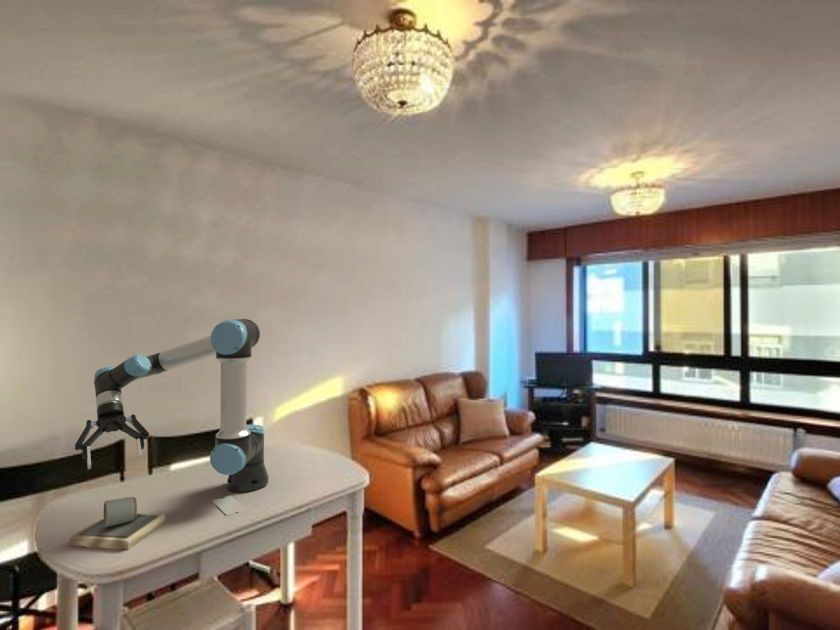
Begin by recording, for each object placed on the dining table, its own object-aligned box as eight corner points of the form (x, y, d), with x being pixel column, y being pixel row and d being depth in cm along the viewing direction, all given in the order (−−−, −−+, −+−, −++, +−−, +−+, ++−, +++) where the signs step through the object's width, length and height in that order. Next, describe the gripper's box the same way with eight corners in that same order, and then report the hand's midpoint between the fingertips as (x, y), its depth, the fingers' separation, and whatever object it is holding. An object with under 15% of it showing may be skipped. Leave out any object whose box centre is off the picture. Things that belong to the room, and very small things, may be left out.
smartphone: (226, 515, 149) (210, 500, 160) (226, 517, 149) (211, 502, 160) (248, 509, 154) (232, 494, 165) (248, 510, 154) (232, 496, 165)
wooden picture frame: (165, 522, 144) (165, 513, 144) (128, 549, 128) (128, 539, 128) (112, 519, 146) (112, 510, 146) (70, 545, 130) (69, 535, 130)
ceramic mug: (138, 523, 137) (138, 498, 137) (105, 532, 132) (105, 506, 132) (132, 511, 145) (132, 488, 145) (101, 519, 140) (101, 494, 140)
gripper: (150, 408, 166) (158, 459, 155) (63, 418, 150) (66, 477, 139) (152, 396, 162) (161, 448, 151) (64, 406, 146) (66, 464, 135)
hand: (115, 462), depth 145 cm, fingers open, 13 cm apart
